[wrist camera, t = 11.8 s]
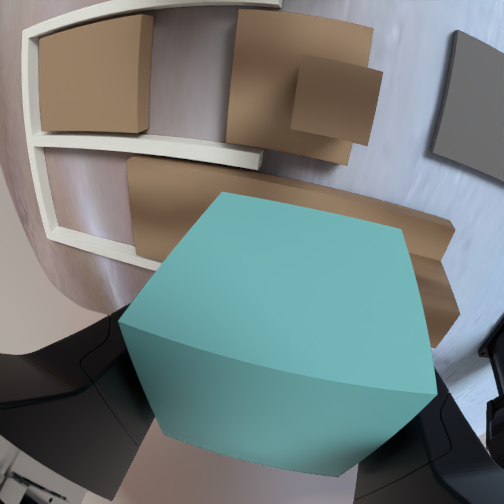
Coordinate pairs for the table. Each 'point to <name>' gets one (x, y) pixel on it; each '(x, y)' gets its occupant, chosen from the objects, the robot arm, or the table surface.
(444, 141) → the coaster
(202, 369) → the cube
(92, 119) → the board
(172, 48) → the table surface
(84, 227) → the table surface
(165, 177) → the strip
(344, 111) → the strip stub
